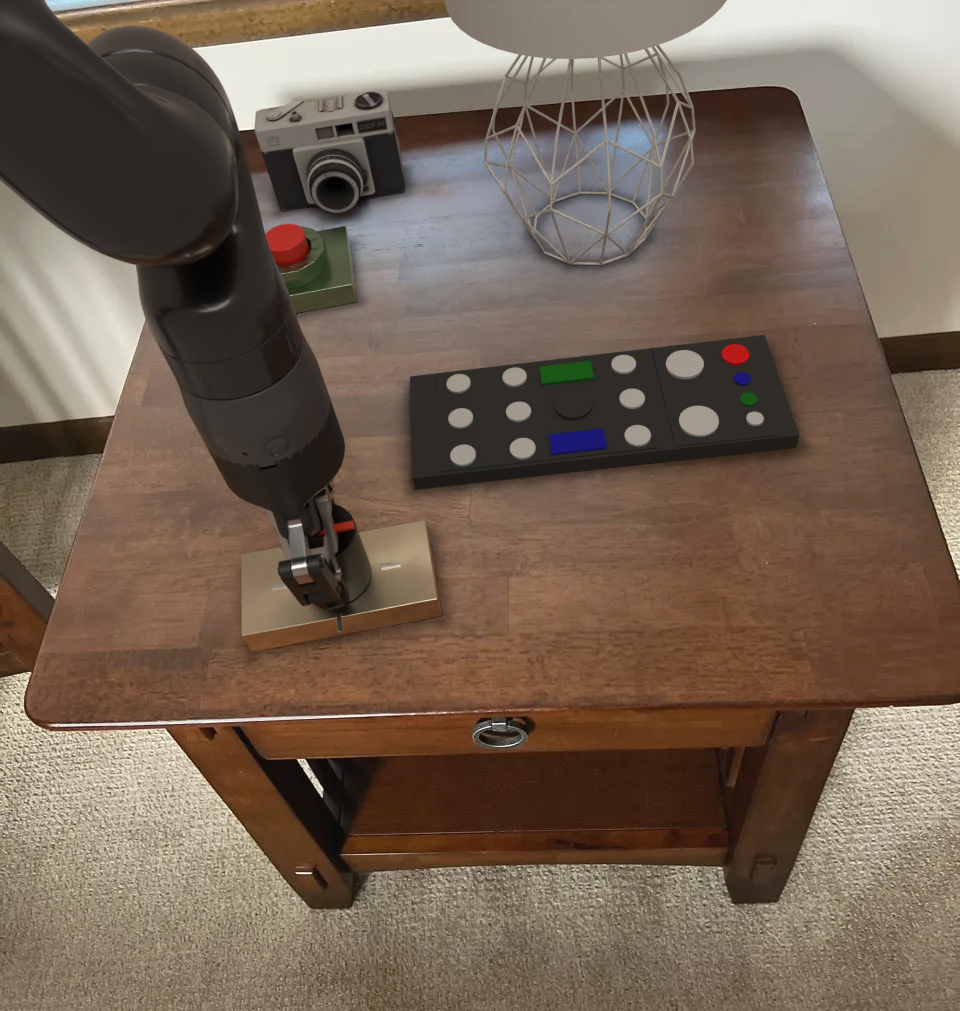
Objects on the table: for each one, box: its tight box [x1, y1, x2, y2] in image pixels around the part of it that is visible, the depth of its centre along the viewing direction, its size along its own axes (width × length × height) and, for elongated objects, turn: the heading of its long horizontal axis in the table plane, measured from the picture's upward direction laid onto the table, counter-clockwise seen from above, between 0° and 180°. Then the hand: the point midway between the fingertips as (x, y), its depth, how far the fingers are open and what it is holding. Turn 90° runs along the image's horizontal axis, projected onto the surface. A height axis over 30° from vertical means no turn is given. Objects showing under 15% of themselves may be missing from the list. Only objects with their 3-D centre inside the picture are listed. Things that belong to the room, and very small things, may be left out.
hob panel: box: [240, 519, 443, 653], centre depth 67 cm, size 14×9×3 cm
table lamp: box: [444, 0, 728, 266], centre depth 74 cm, size 22×22×40 cm
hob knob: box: [279, 503, 371, 604], centre depth 64 cm, size 5×5×6 cm
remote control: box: [409, 334, 800, 490], centre depth 75 cm, size 11×30×2 cm, turn 93°
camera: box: [254, 89, 406, 214], centre depth 93 cm, size 14×9×10 cm, turn 89°
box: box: [277, 225, 358, 314], centre depth 89 cm, size 11×9×4 cm
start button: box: [265, 223, 309, 266], centre depth 86 cm, size 4×4×2 cm
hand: (332, 567), depth 66 cm, fingers closed on hob knob, 5 cm apart
